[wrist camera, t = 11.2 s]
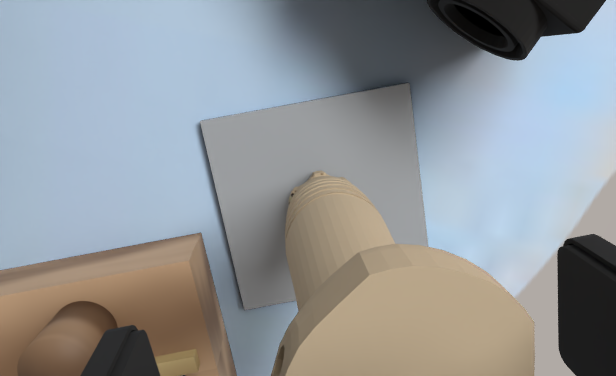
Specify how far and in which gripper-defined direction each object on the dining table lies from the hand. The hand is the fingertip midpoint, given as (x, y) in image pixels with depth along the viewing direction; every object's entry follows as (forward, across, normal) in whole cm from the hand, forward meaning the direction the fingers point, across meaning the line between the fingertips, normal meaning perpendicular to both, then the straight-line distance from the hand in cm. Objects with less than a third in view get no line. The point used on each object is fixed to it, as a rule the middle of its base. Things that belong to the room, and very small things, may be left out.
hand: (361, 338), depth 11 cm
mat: (+14, 0, +1) cm, 14 cm away
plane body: (+13, +11, +9) cm, 20 cm away
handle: (+13, 0, +1) cm, 13 cm away
